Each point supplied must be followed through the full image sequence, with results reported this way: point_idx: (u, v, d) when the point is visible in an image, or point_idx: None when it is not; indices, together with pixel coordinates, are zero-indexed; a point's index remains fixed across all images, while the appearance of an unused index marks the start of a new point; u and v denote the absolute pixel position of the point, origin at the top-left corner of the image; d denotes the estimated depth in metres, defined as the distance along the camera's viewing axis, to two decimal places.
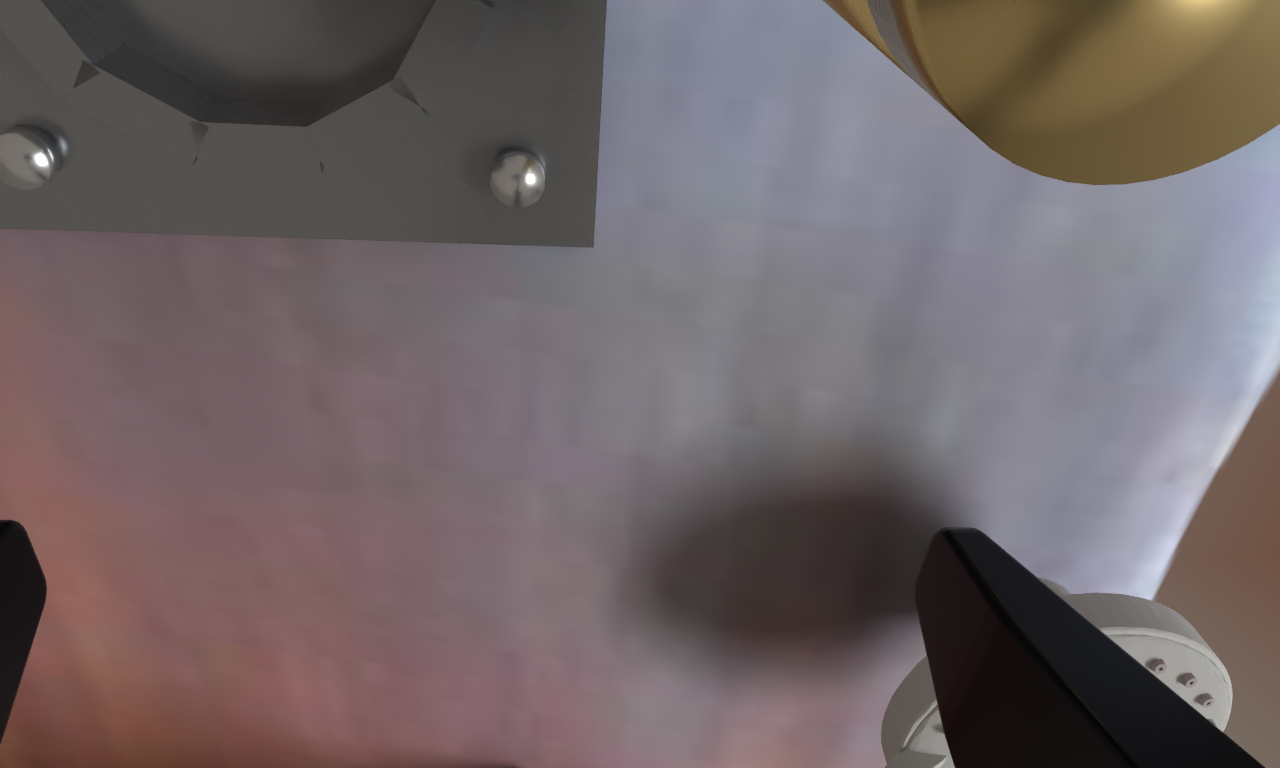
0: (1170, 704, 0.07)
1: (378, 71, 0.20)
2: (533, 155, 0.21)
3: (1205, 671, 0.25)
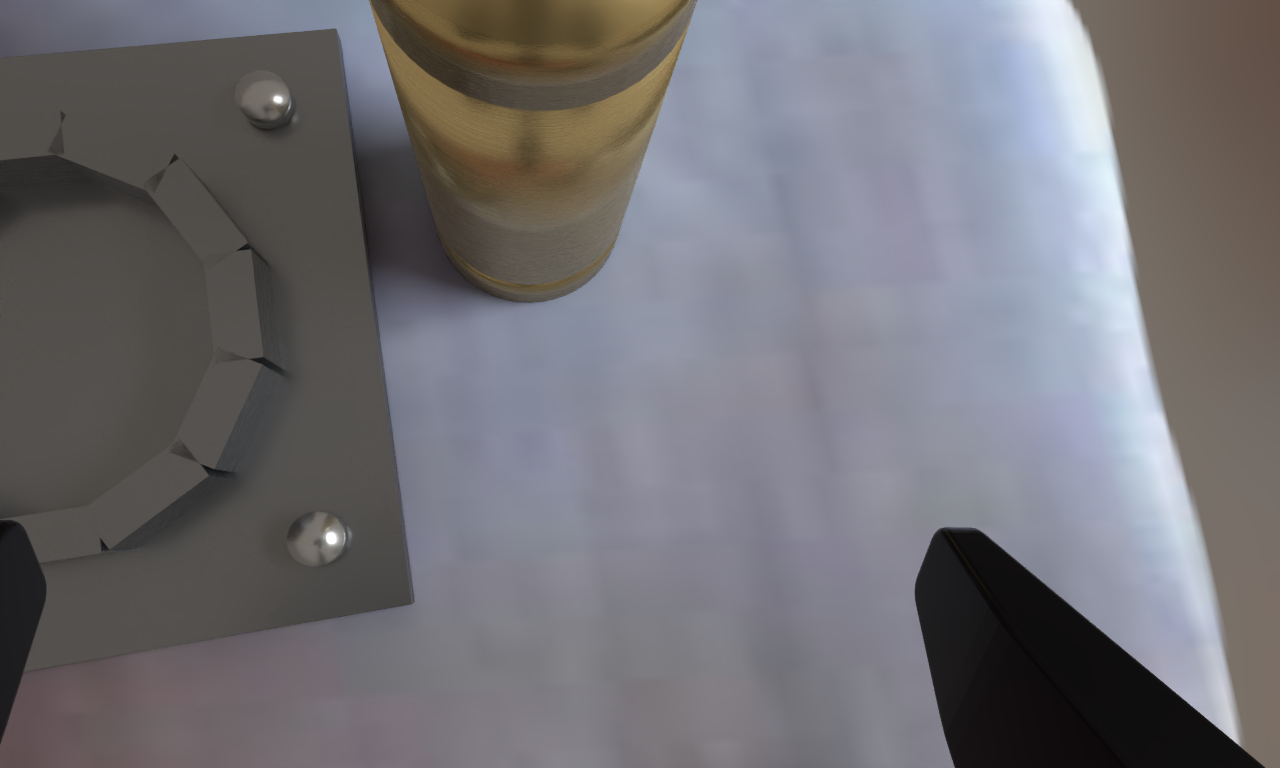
0: (1170, 704, 0.07)
1: None
2: (331, 513, 0.21)
3: None
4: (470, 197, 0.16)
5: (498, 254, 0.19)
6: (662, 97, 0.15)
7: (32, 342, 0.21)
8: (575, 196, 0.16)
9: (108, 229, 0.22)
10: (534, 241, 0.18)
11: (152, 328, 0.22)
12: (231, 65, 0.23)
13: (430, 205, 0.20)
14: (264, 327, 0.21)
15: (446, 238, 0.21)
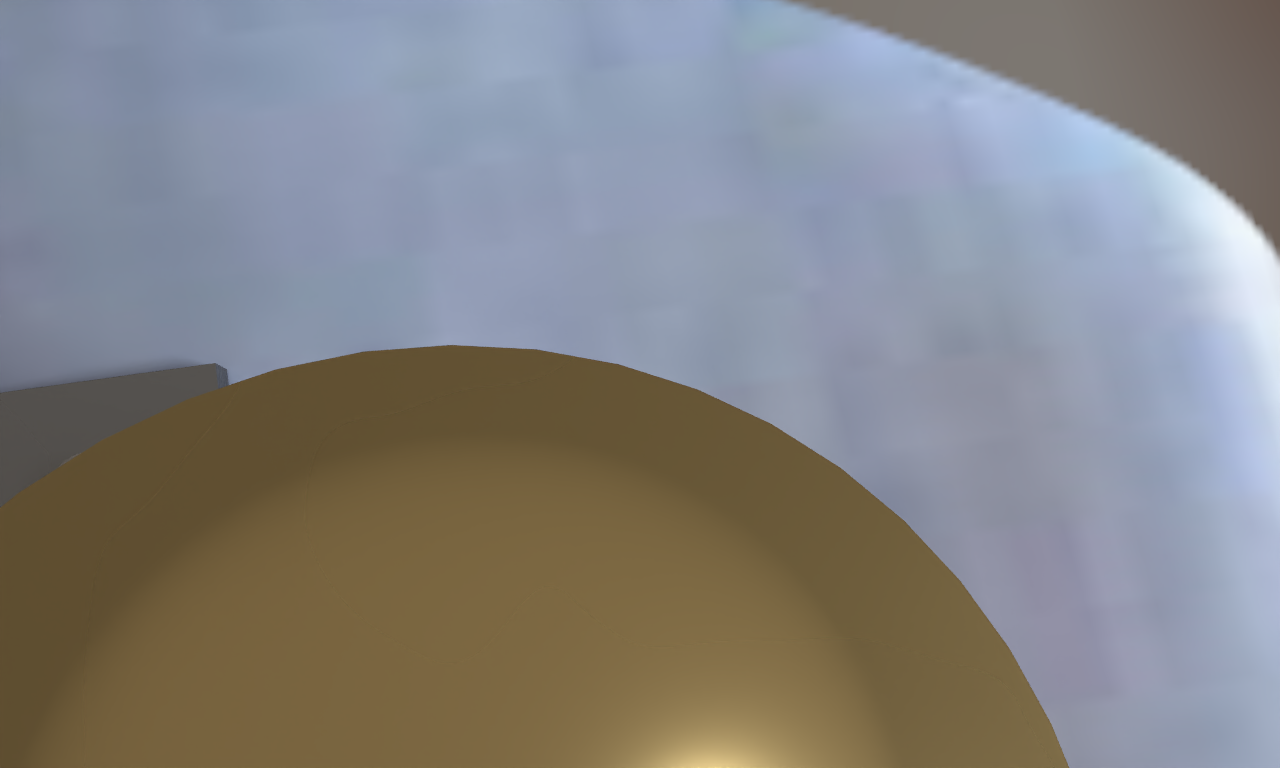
0: None
1: None
2: None
3: None
4: None
5: None
6: None
7: None
8: None
9: None
10: None
11: None
12: (50, 431, 0.15)
13: None
14: None
15: None
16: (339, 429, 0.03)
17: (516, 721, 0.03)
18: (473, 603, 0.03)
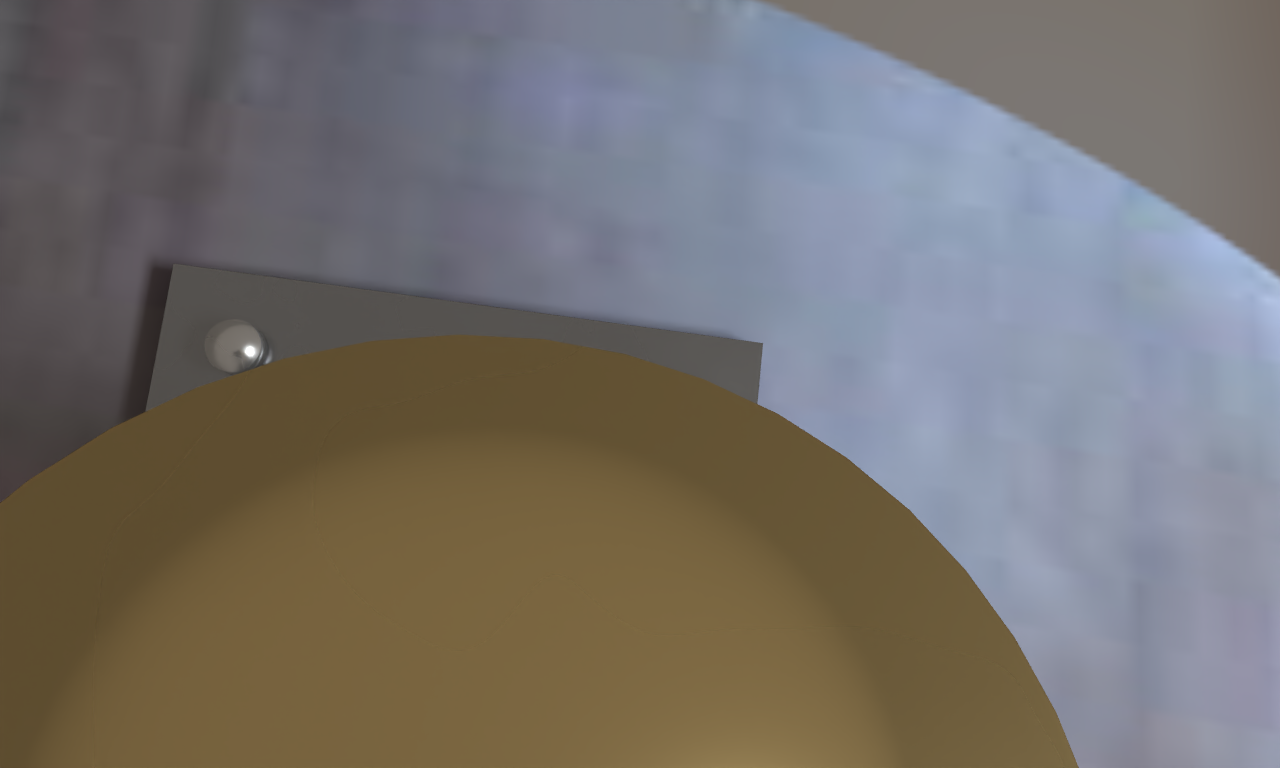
0: None
1: None
2: None
3: None
4: None
5: None
6: None
7: None
8: None
9: None
10: None
11: None
12: (658, 358, 0.23)
13: None
14: None
15: None
16: (347, 418, 0.03)
17: (524, 709, 0.03)
18: (476, 593, 0.03)
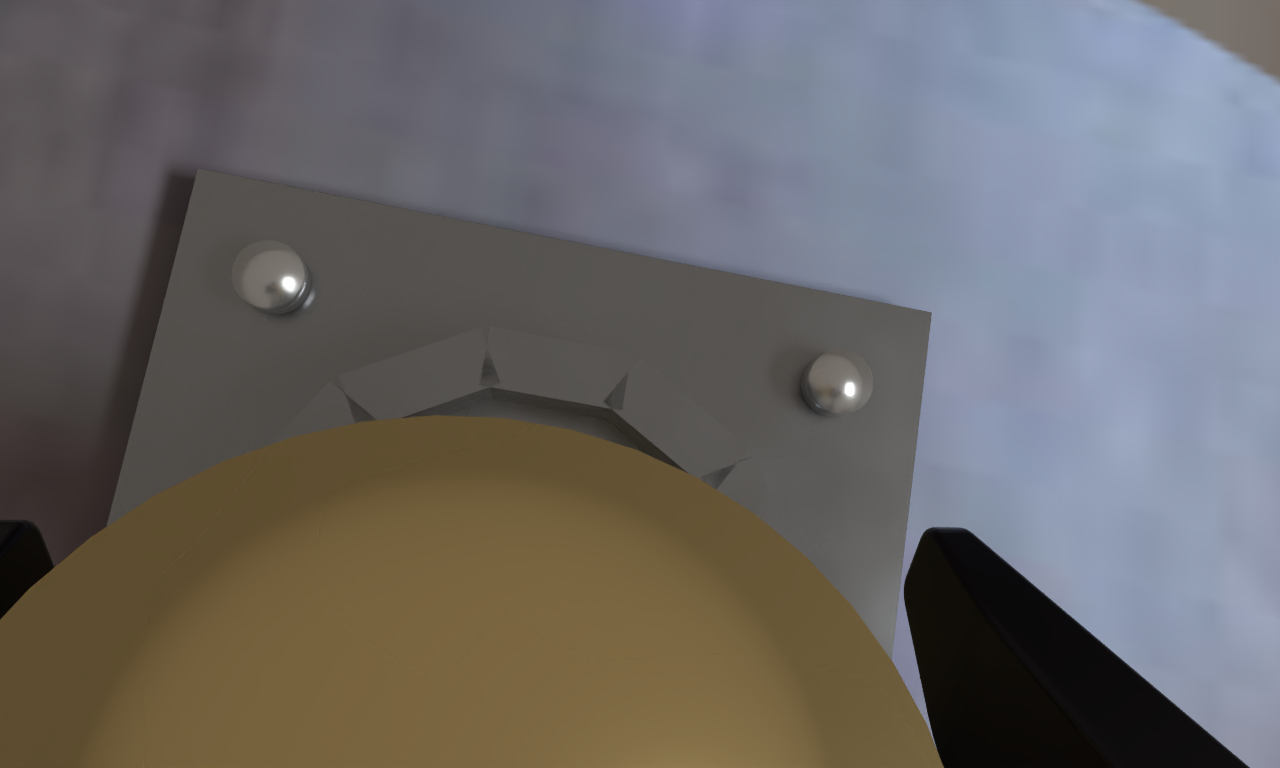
0: (1155, 705, 0.07)
1: None
2: None
3: None
4: None
5: None
6: None
7: None
8: None
9: None
10: None
11: None
12: (801, 323, 0.18)
13: None
14: None
15: None
16: (345, 484, 0.04)
17: (487, 721, 0.04)
18: (451, 626, 0.04)
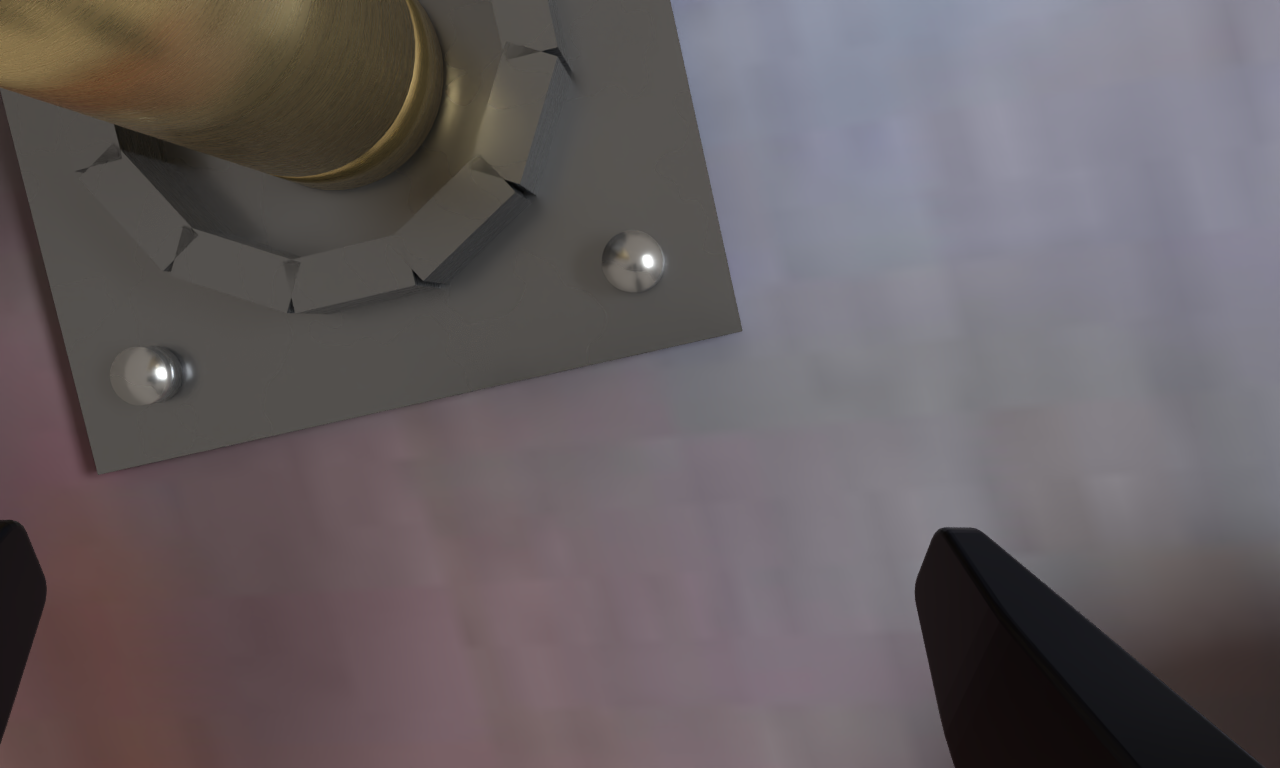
0: (1170, 704, 0.07)
1: None
2: (645, 233, 0.19)
3: None
4: (111, 117, 0.12)
5: (253, 154, 0.15)
6: None
7: None
8: (211, 56, 0.12)
9: None
10: (257, 125, 0.14)
11: None
12: None
13: None
14: (552, 14, 0.18)
15: None
16: None
17: None
18: None
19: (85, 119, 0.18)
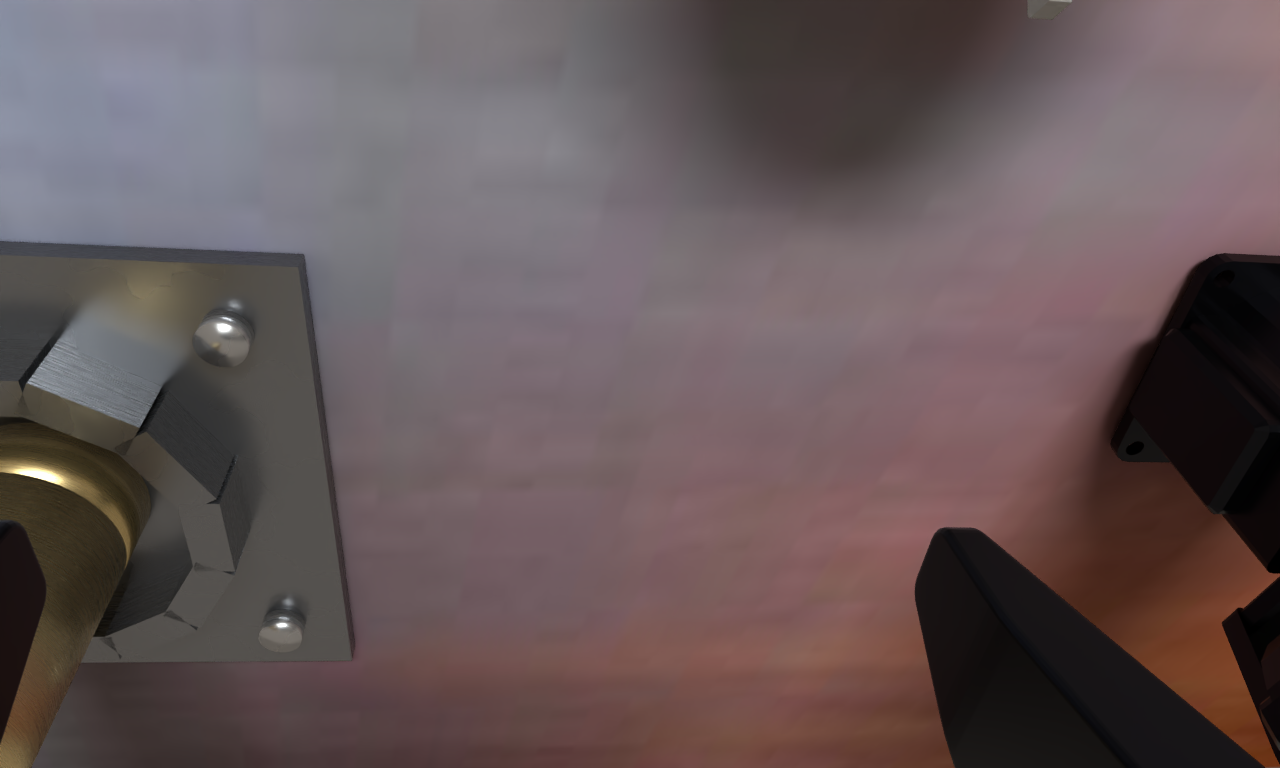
0: (1170, 705, 0.07)
1: None
2: (199, 323, 0.22)
3: None
4: (38, 747, 0.20)
5: (92, 619, 0.22)
6: None
7: None
8: None
9: None
10: (59, 643, 0.20)
11: None
12: None
13: None
14: None
15: None
16: None
17: None
18: None
19: None
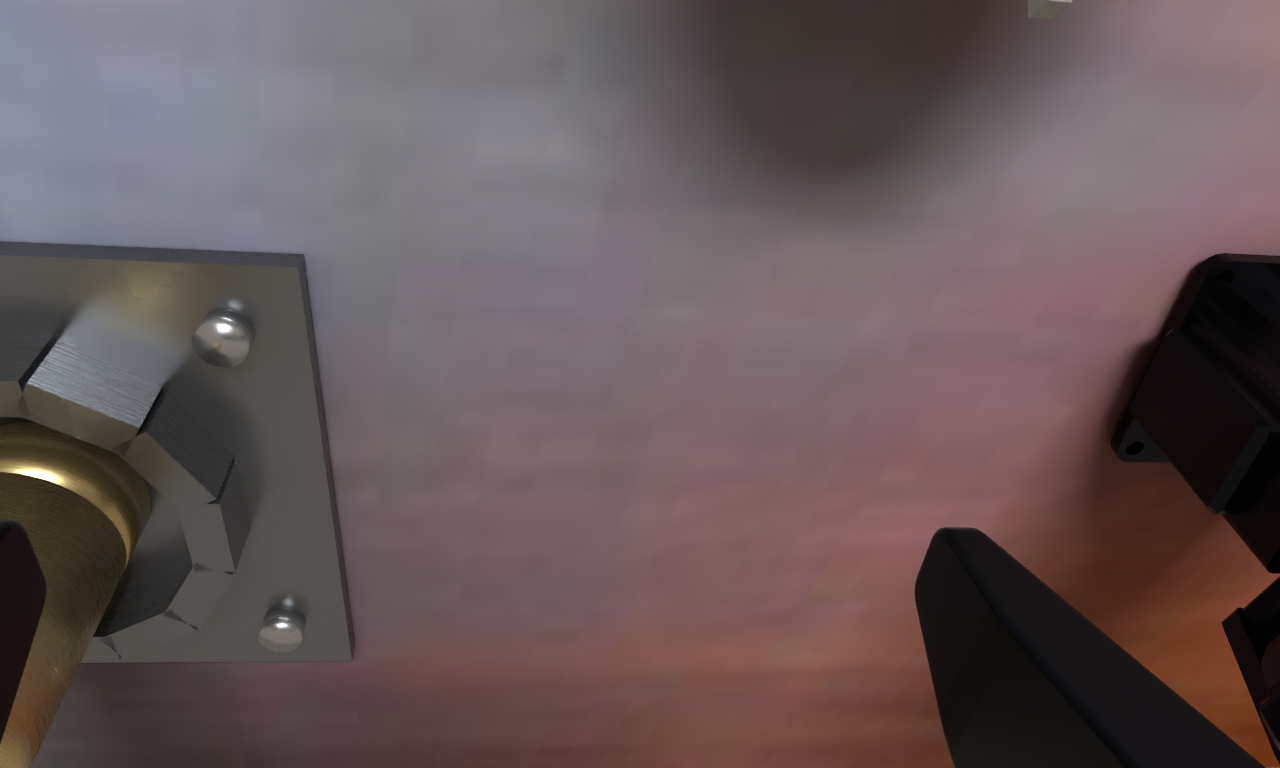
0: (1170, 704, 0.07)
1: None
2: (199, 323, 0.22)
3: None
4: (37, 747, 0.20)
5: (91, 619, 0.22)
6: None
7: None
8: None
9: None
10: (58, 643, 0.20)
11: None
12: None
13: None
14: None
15: None
16: None
17: None
18: None
19: None
